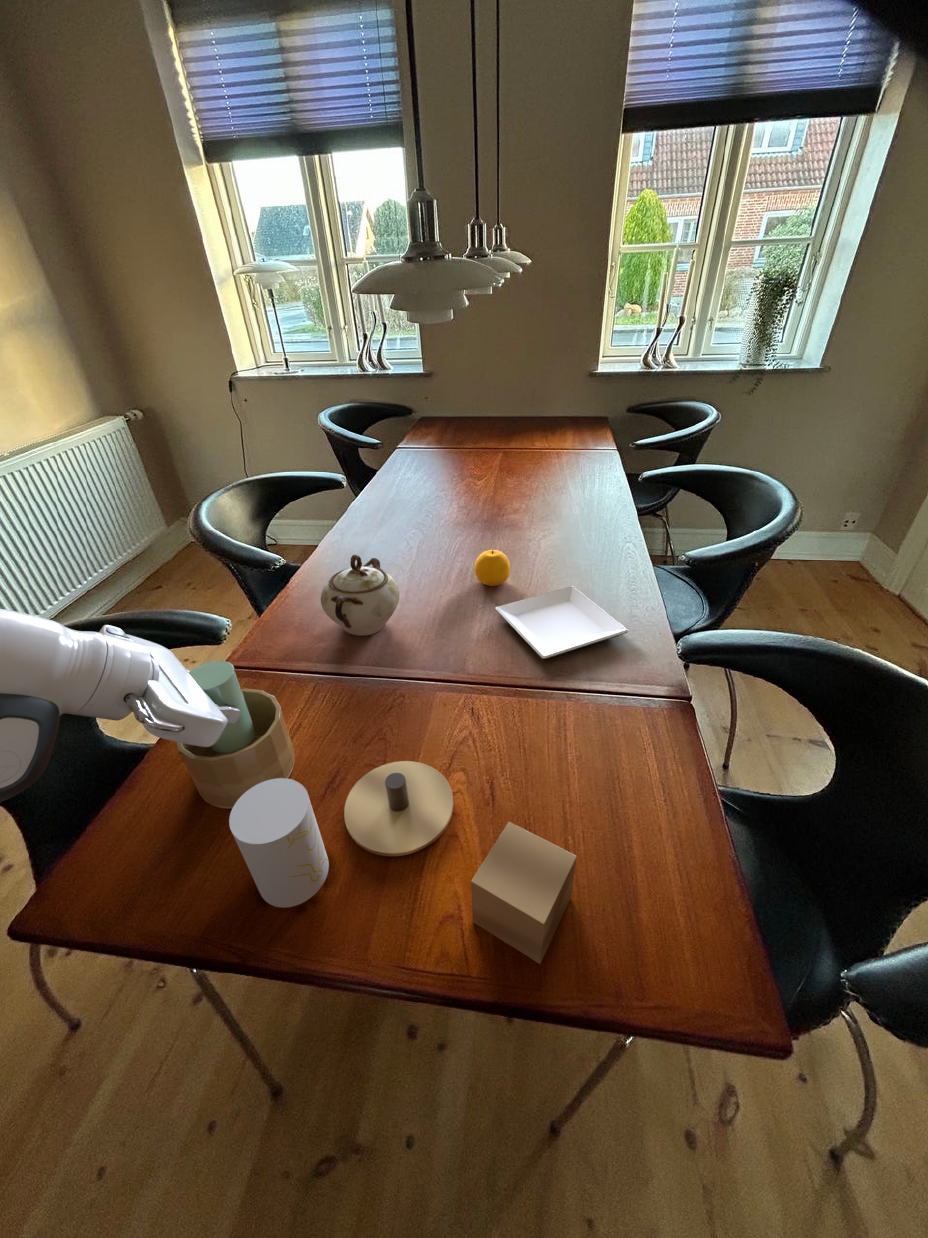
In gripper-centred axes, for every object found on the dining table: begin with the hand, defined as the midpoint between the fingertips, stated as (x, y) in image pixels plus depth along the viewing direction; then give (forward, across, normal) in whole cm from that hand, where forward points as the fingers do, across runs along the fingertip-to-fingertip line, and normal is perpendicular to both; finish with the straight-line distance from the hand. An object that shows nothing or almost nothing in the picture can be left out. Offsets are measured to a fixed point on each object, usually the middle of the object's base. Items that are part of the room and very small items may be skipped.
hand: (224, 701), depth 69 cm
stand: (+18, -41, 0) cm, 45 cm away
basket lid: (+16, -21, +1) cm, 27 cm away
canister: (+4, 0, +5) cm, 6 cm away
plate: (+51, -10, -32) cm, 61 cm away
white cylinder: (+7, -19, +12) cm, 23 cm away
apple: (+53, +12, -35) cm, 65 cm away
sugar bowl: (+32, +18, -14) cm, 40 cm away
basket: (+9, 0, +9) cm, 13 cm away
